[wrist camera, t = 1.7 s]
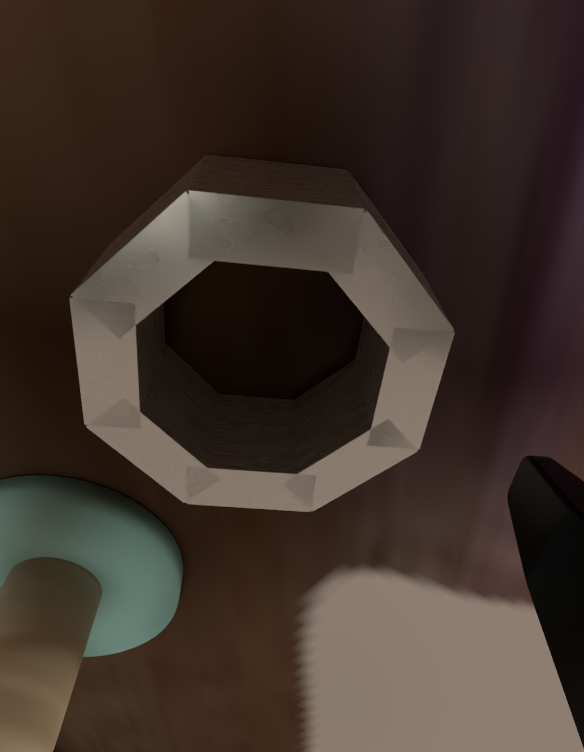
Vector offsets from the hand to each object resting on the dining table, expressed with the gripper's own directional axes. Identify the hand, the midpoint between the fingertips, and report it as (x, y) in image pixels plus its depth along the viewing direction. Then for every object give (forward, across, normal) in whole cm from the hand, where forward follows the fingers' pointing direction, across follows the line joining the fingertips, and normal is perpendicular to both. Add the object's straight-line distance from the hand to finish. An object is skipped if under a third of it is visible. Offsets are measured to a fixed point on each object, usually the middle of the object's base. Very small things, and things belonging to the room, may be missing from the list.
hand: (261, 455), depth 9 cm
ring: (+5, 0, 0) cm, 5 cm away
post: (+5, +6, +10) cm, 13 cm away
